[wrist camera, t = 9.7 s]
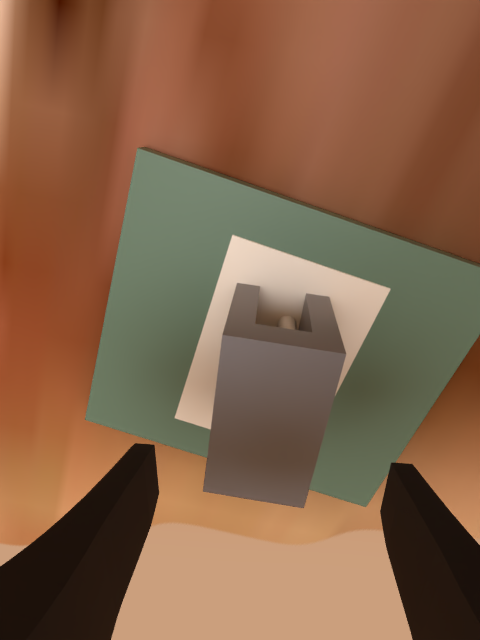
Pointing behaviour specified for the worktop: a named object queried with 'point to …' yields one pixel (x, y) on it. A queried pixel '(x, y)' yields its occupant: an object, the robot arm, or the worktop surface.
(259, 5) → the worktop surface
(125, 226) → the board
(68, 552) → the robot arm
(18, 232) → the worktop surface
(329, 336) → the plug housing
